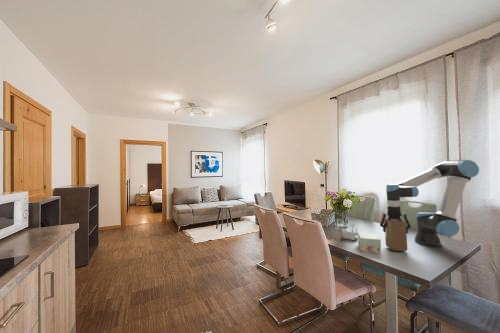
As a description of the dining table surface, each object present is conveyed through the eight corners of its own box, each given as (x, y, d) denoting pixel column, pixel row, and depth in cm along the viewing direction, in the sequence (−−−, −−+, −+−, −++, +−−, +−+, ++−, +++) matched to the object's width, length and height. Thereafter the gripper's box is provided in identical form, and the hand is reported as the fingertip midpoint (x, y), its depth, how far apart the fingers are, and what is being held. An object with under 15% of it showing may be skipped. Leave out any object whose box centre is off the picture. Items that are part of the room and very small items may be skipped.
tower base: (376, 247, 150) (376, 241, 150) (380, 254, 138) (380, 246, 139) (358, 246, 154) (358, 239, 154) (360, 252, 143) (360, 245, 143)
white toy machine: (348, 222, 183) (362, 225, 175) (349, 233, 183) (363, 236, 175) (340, 227, 170) (355, 229, 162) (341, 239, 170) (356, 242, 162)
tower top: (376, 240, 150) (376, 234, 150) (380, 246, 139) (380, 239, 139) (358, 239, 154) (358, 232, 154) (361, 245, 143) (360, 238, 143)
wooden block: (408, 251, 138) (406, 222, 138) (391, 251, 140) (390, 221, 140) (400, 246, 147) (398, 218, 148) (385, 245, 149) (383, 218, 150)
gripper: (411, 205, 143) (413, 236, 143) (373, 204, 152) (375, 234, 151) (415, 207, 136) (417, 240, 136) (376, 206, 145) (377, 237, 144)
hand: (395, 237), depth 144 cm, fingers closed on wooden block, 11 cm apart
